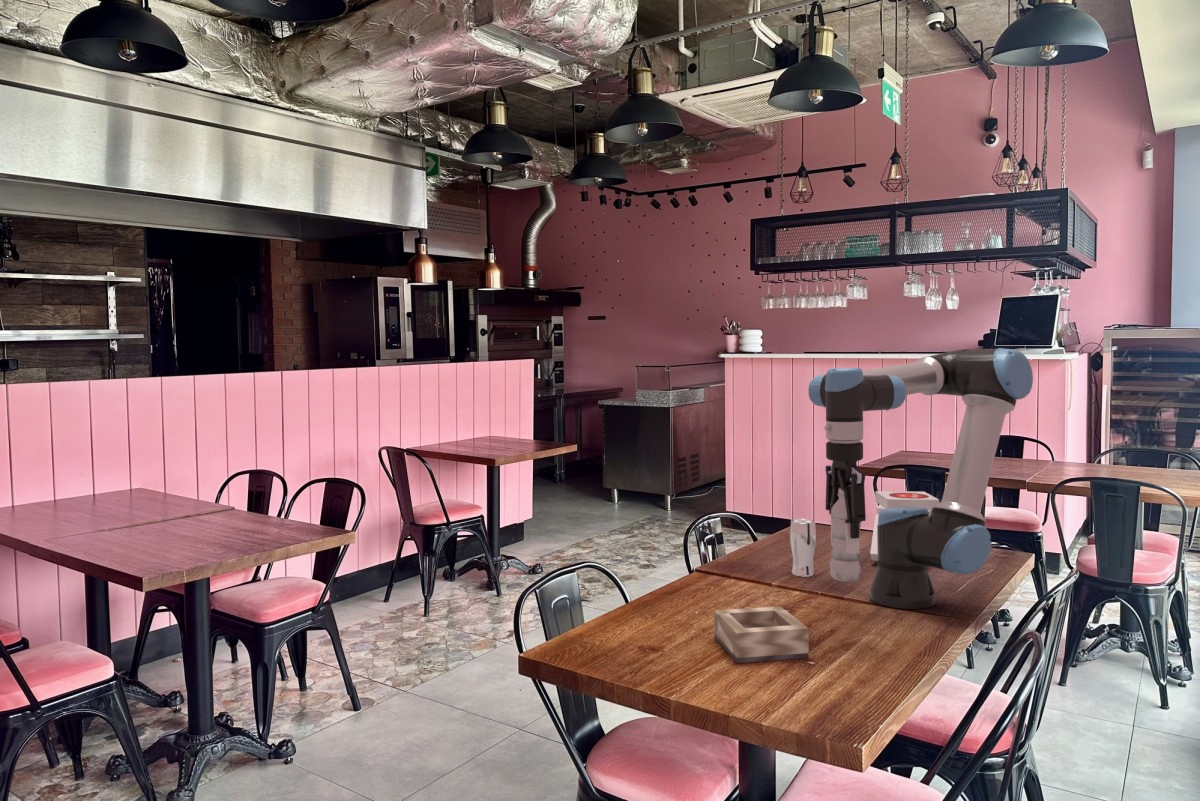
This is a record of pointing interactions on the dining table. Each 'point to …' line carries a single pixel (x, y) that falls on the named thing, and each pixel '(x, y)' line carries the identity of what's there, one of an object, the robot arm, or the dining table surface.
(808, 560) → the beer glass
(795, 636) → the bottle holder
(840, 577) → the plastic bottle
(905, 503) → the pizza boxes
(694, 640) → the dining table surface
